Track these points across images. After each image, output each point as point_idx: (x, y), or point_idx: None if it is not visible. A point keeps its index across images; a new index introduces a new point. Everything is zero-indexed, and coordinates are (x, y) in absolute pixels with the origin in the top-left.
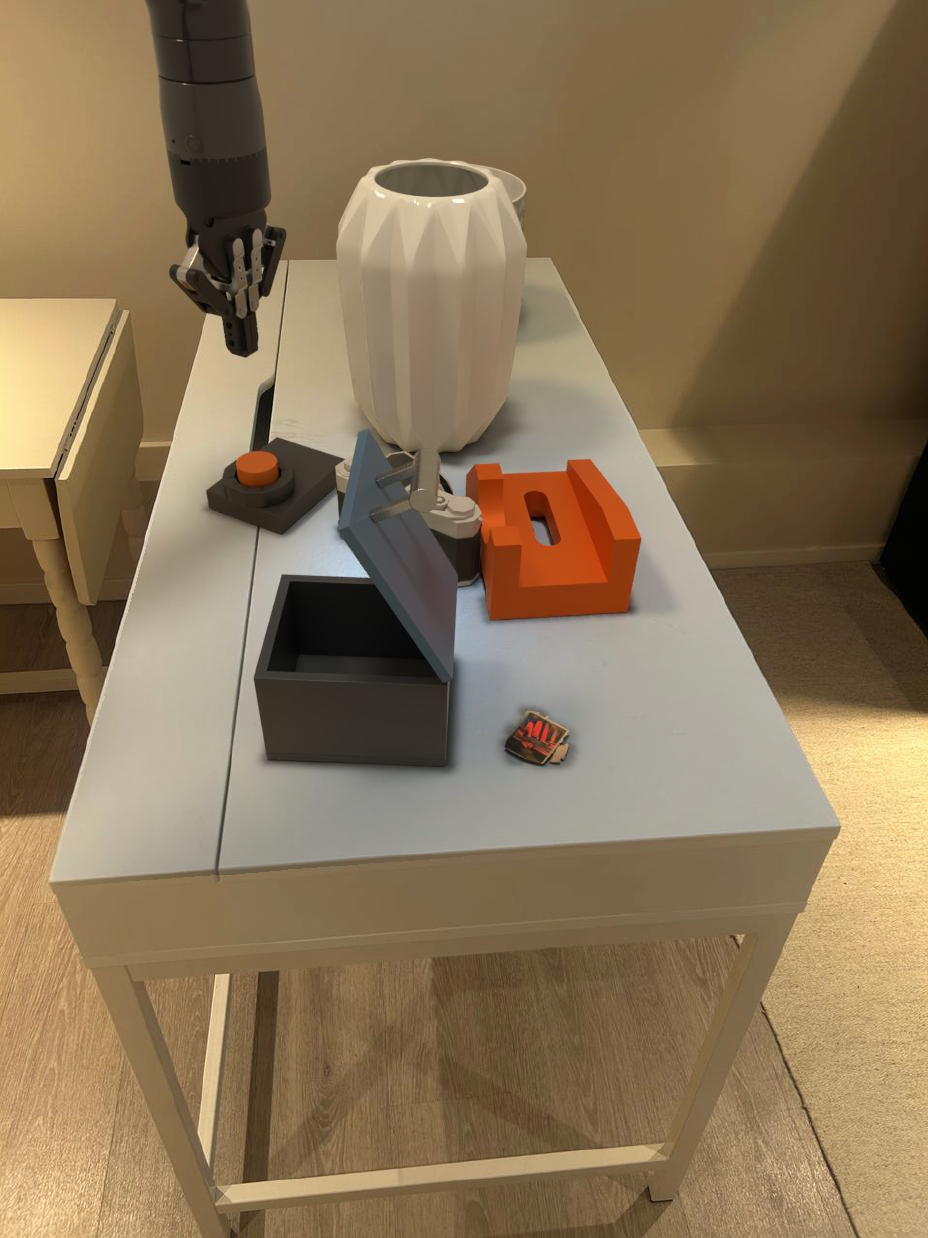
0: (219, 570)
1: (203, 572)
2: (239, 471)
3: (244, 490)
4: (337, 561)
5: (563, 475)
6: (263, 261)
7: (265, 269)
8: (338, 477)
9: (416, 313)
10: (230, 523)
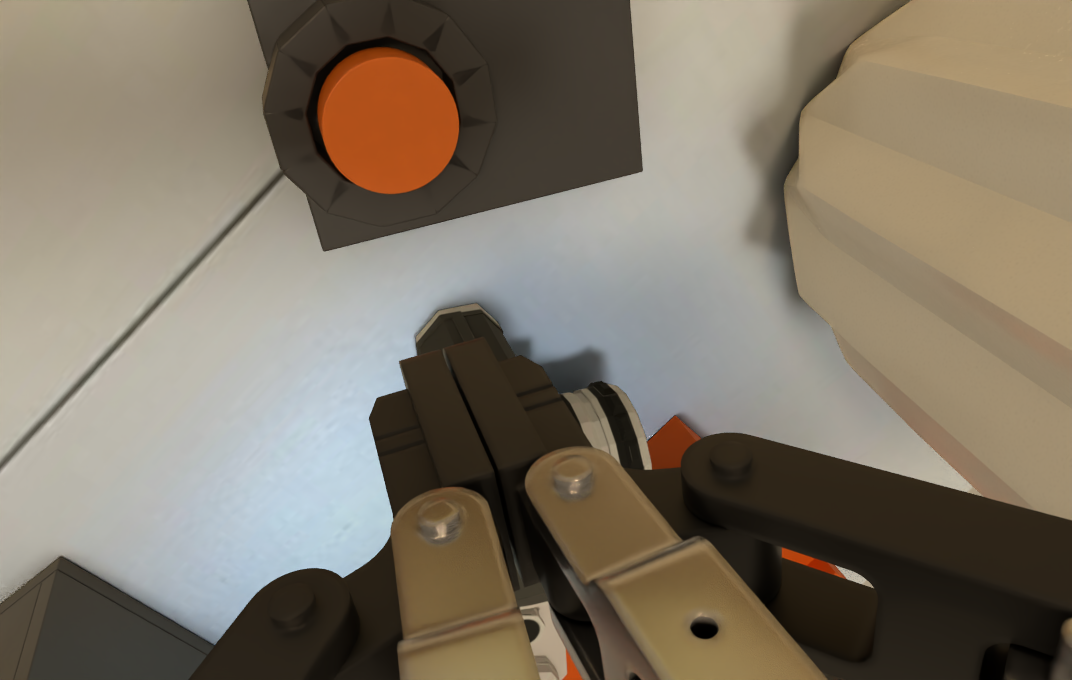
0: (87, 236)
1: (42, 212)
2: (321, 115)
3: (290, 161)
4: (346, 392)
5: (803, 561)
6: (892, 664)
7: (834, 668)
8: None
9: None
10: (244, 83)
